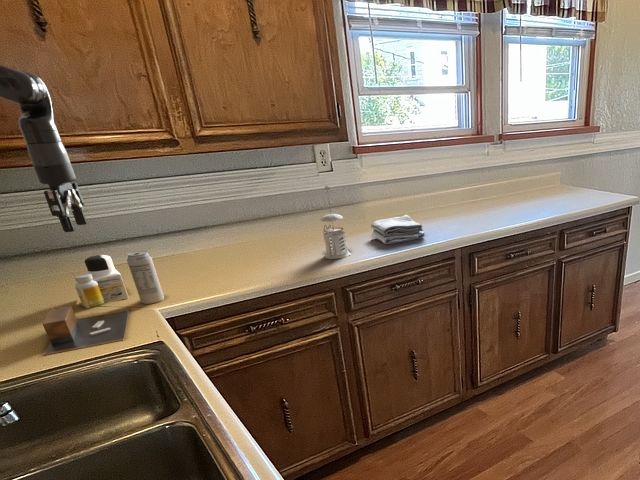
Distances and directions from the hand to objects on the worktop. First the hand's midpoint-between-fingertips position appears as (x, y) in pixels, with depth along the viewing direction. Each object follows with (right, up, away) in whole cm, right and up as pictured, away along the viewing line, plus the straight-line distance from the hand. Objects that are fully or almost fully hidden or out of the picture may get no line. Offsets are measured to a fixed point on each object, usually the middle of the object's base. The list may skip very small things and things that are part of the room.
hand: (76, 228), depth 135 cm
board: (+5, -28, -1) cm, 28 cm away
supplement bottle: (-7, -19, +16) cm, 26 cm away
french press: (+52, +4, +59) cm, 79 cm away
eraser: (0, -28, -4) cm, 28 cm away
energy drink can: (+9, -18, +18) cm, 27 cm away
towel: (+72, +16, +80) cm, 108 cm away
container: (-7, -16, +23) cm, 28 cm away
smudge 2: (+9, -28, -3) cm, 29 cm away
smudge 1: (+5, -25, +1) cm, 26 cm away
